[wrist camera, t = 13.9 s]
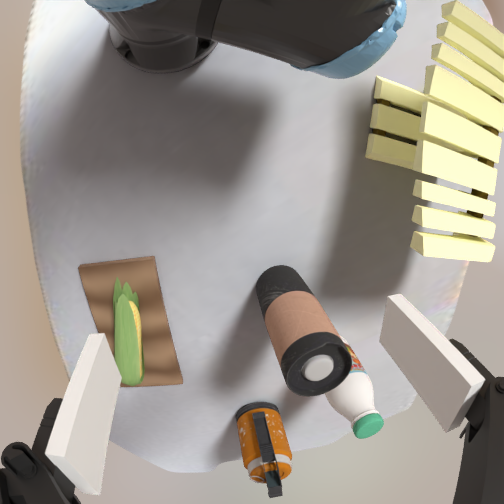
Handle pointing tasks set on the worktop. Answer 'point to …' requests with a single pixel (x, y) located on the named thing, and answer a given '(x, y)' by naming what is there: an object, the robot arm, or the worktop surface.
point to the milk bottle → (356, 400)
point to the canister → (264, 445)
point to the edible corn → (128, 335)
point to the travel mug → (301, 334)
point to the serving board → (150, 306)
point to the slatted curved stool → (449, 134)
